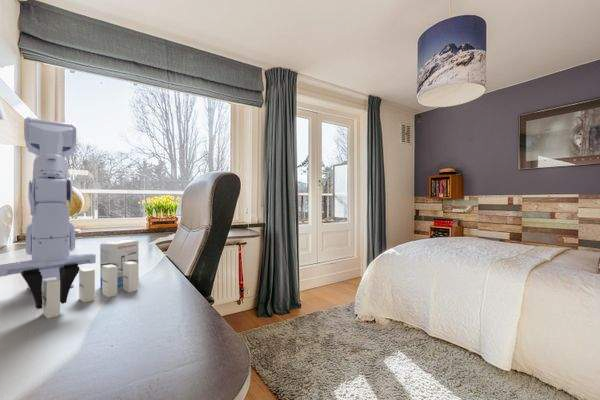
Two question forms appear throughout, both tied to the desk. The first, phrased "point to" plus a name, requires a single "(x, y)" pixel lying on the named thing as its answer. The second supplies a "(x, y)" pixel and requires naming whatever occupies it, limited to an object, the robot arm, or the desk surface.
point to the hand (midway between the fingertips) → (51, 304)
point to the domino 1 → (51, 297)
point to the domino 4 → (130, 276)
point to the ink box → (118, 256)
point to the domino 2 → (86, 284)
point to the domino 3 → (109, 280)
